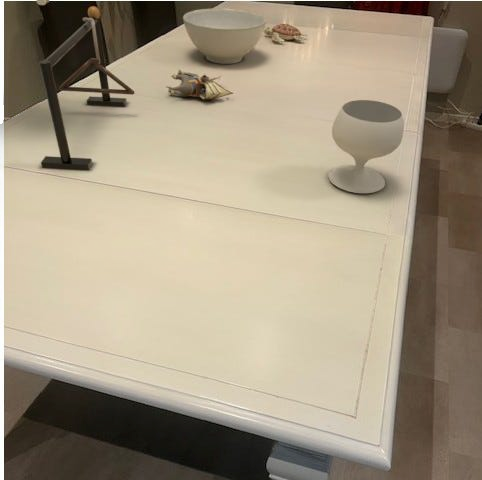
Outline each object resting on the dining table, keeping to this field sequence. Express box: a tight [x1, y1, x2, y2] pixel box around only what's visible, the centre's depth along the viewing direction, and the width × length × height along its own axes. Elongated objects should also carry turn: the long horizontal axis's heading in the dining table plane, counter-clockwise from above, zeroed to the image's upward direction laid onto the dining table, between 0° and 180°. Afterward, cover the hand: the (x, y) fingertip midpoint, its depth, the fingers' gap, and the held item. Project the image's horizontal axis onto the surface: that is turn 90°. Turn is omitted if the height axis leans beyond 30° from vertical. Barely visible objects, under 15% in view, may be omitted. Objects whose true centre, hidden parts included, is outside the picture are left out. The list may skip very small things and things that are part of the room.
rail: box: [38, 17, 98, 171], centre depth 109 cm, size 38×10×21 cm, turn 178°
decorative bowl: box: [182, 7, 267, 65], centre depth 160 cm, size 27×27×12 cm
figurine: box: [165, 69, 234, 101], centre depth 135 cm, size 20×6×17 cm
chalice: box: [328, 99, 405, 194], centre depth 99 cm, size 14×14×15 cm
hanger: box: [58, 17, 135, 96], centre depth 115 cm, size 1×19×16 cm, turn 88°
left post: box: [86, 5, 128, 108], centre depth 122 cm, size 3×10×23 cm, turn 88°
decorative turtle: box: [263, 23, 308, 43], centre depth 183 cm, size 18×17×5 cm
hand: (43, 3), depth 105 cm, fingers closed
